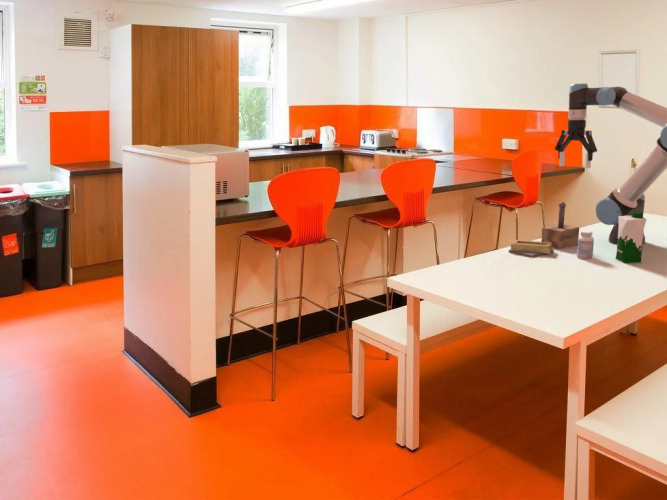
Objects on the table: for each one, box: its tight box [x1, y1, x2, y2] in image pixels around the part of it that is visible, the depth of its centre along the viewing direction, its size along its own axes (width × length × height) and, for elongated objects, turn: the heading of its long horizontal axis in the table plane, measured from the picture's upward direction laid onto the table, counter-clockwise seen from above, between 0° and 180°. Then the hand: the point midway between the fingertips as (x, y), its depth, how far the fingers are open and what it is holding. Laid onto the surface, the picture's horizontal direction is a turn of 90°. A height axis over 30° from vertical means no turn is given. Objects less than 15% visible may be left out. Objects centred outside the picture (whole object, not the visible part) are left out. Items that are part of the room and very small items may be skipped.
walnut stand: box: [540, 201, 580, 250], centre depth 298 cm, size 10×13×20 cm
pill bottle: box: [576, 229, 595, 260], centre depth 277 cm, size 6×6×11 cm
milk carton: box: [615, 211, 648, 264], centre depth 270 cm, size 9×9×20 cm
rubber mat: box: [508, 248, 555, 259], centre depth 289 cm, size 12×15×1 cm
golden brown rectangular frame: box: [510, 239, 553, 254], centre depth 288 cm, size 8×16×3 cm, turn 66°
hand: (574, 167), depth 302 cm, fingers open, 13 cm apart
